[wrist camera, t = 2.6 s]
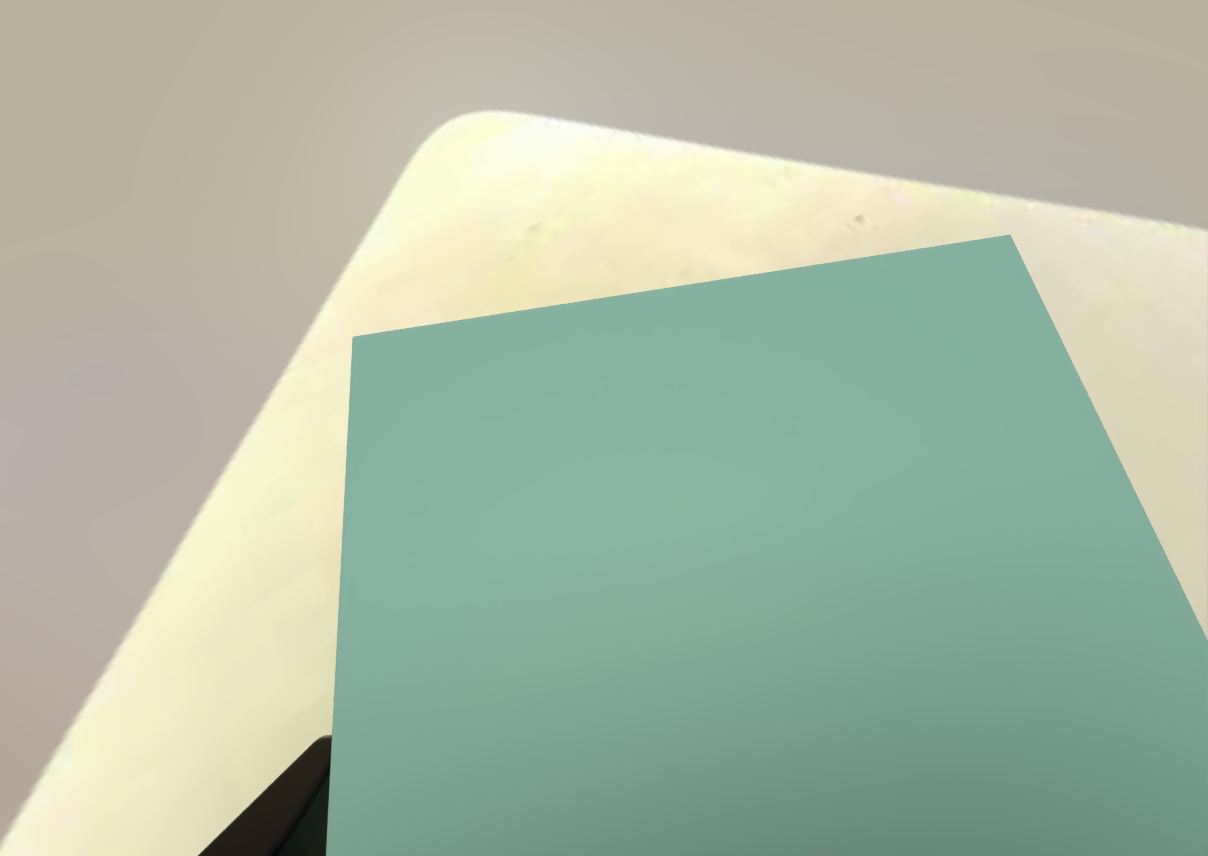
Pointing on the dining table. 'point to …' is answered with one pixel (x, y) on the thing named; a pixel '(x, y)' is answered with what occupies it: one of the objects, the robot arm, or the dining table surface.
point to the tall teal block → (757, 582)
